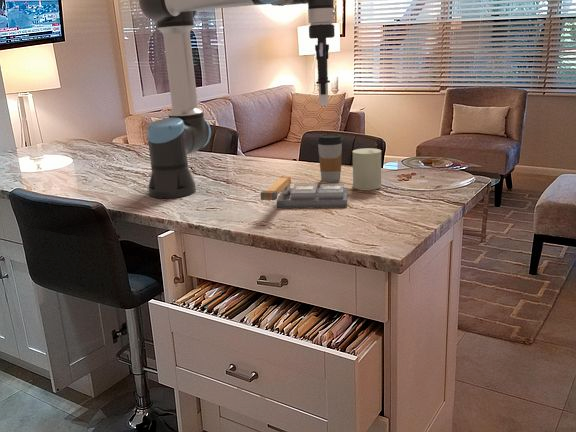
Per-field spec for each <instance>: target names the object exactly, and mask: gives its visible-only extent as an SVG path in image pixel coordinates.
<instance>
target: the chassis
mask: <svg viewBox="0 0 576 432" xmlns="http://www.w3.org/2000/svg"><path fill="white" fill-rule="evenodd" d="M318 186H320V187H318ZM348 190H349V189H348V187H345V183H320V185H319V184H318V183H309V184H308V183H305V184H304V183H303V184H302V183H299V184H297V183H296V184H294V186H293V188H291V184H289V185H288V186H287V187H286V188H284V189H283V190H282V191H281V192H280V193H279V194H278V197H277V199H276V207H277V209H279V208H280V209H283V208H284V209H285V208H287V209H289V208H290V209H292V208H296V209H298V208H348V195H349V192H348Z"/></svg>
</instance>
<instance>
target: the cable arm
mask: <svg viewBox="0 0 576 432" xmlns="http://www.w3.org/2000/svg"><path fill="white" fill-rule="evenodd" d="M291 183H292V177H291V175H281V176H280V177H279V178H278V179H277V180H276V181H275V182H274V183H273V184H272V185H270V186H269V187H268V188H267V189H266V190H261V191H260V200H261V201H277V200H278V196H279V195H280V193H281V191H282V190H283V189H284V188H286V187H287V186H288V185H289V184H290V185H291Z"/></svg>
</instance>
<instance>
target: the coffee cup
mask: <svg viewBox="0 0 576 432" xmlns="http://www.w3.org/2000/svg"><path fill="white" fill-rule="evenodd" d="M317 147H318V159H319V160H318V161H319V169H320V171H319V172H320V176H321V177H320V179H321V180H322V182H324V183H337V182H339V181H340V180H341V172H342V156H343V155H342V154H343V153H342V151H343V150H342V148H343V138H342V136H341V134H339V133H335V134H334V133H329V134H327V133H326V134H320V135H318V139H317Z"/></svg>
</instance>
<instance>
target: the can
mask: <svg viewBox="0 0 576 432" xmlns="http://www.w3.org/2000/svg"><path fill="white" fill-rule="evenodd" d="M382 187H383V185H382V150H381V149H379V148H372V147H370V148H369V147H368V148H367V147H366V148H356V149H354V150H352V188H353V189H356V190H360V191H374V190H379V189H381V188H382Z"/></svg>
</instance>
